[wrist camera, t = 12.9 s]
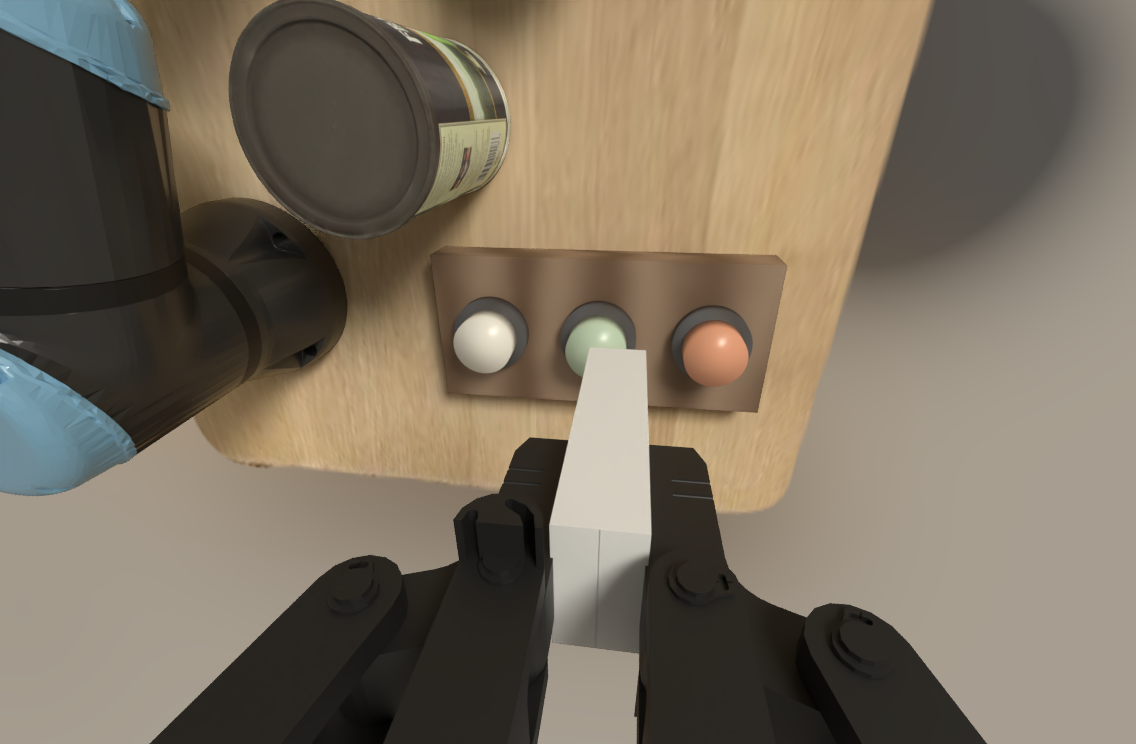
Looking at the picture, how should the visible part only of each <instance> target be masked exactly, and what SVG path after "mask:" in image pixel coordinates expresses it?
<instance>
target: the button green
mask: <svg viewBox="0 0 1136 744" xmlns="http://www.w3.org/2000/svg"><path fill="white" fill-rule="evenodd" d="M590 347H591V348H611V349H626V347H627V340H626V335H625V333H624V331H623V329H622V327H621V326H620V325H619V324H618V323H617V322H616V321H614V320H613V319H611V318H608V317H605V316H600V315H594V316H589V317H586V318H583V319H582V320H580V321H579V322H577V323H576V325H575V326H574V327H573V329H572V330H571V333H570V336H569V338H568V341H567V344H566V350H565V354H566V359H567V362H568V364H569V366H570V367H571V369H572V370H573V371H574V372H575V373H576V374H578V375H579V376H581V377H583V375H584V371H585V366H586V362H587V357H588V353H589V349H590Z"/></svg>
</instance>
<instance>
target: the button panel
mask: <svg viewBox="0 0 1136 744" xmlns="http://www.w3.org/2000/svg"><path fill="white" fill-rule="evenodd" d="M430 257H431V265H432V272H433V280H434V288H435V296H436V303H437V311H438V319H439V326H440V334H441V342H442V349H443V357H444V365H445V372H446V380H447V388H448V393H459V394H475V395H490V396H506V397H521V398H537V399H552V400H568V401H578V397H579V393H580V388H581V384H582V379H583V377H581V376H579V375H578V374H576V373H575V372H574V371H573V370H572V369H571V367H570V366H569V364H568V362H567V359H566V354H565V350H566V344H567V341H568V338H569V336H570V333H571V330H572V329H573V327H574V326H575V325H576V323H577V322H579V321H580V320H582V319H583V318H586V317H589V316H594V315H600V316H605V317H608V318H611V319H613V320H614V321H616V322H617V323H618V324H619V325H620V326H621V327H622V329H623V331H624V333H625V335H626V340H627V347H626V349H630V350H646V364H647V398H648V406H661V407H676V408H692V409H707V410H723V411H738V412H754V413H757V412H758V408H759V403H760V398H761V393H762V388H763V383H764V378H765V373H766V368H767V363H768V358H769V353H770V349H771V344H772V339H773V334H774V329H775V324H776V319H777V314H778V309H779V304H780V299H781V294H782V290H783V285H784V280H785V275H786V270H787V265H786V264H785V263H784V262H783V261H782V260H781V259H780V258H779V257H778V256H777V255H741V254H704V253H668V252H631V251H594V250H558V249H521V248H484V247H448V246H444V247H443V248H441V249H439V250H438V251H436V252H434V253H433V254H431V255H430ZM482 310H491V311H495V312H498V313H500V314H502V315H503V316H505V317H506V318H507V319H508V320H509V321H510V322H511V324H512V325H513V327H514V329H515V331H516V336H517V343H516V347H515V350H514V352H513V353H512V355H511V357H510V359H509V360H508V362H507V364H506V365H505V366H504V367H503V368H502V369H500V370H498V371H496V372H493V373H479V372H476V371H473V370H471V369H469V368H468V367H466V366H465V365H464V364H463V363H462V362H461V361H460V360H459V358H458V357H457V355H456V353H455V350H454V344H453V341H454V335H455V333H456V331H457V329H458V328H459V327H460V326H461V325H462V324H463V322H464V321H465V320H466V319H467V318H468V317H469V316H470V315H471V314H473V313H475V312H477V311H482ZM709 320H721V321H725V322H727V323H729V324H731V325H733V326H734V327H735V328H736V329H737V330H738V331H739V333H740V335H741V336H742V338H743V341H744V343H745V345H746V347H747V349H748V356H749V358H748V363H747V366H746V369H745V370H744V372H743V373H742V374H741V376H740V377H739V378H737V379H736V380H735V381H733V382H731V383H729V384H727V385H723V386H718V387H710V386H705V385H702V384H699V383H697V382H696V381H694V380H693V379H692V378H691V377H690V376H689V375H688V373H687V371H686V369H685V366H684V361H683V356H682V343H683V340H684V338H685V336H686V334H687V333H688V332H689V331H690V330H691V329H692V328H693V327H694V326H696V325H697V324H699V323H702V322H704V321H709Z"/></svg>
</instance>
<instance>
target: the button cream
mask: <svg viewBox="0 0 1136 744" xmlns="http://www.w3.org/2000/svg"><path fill="white" fill-rule="evenodd" d="M516 343H517V336H516V331H515V329H514V327H513V325H512V324H511V322H510V321H509V320H508V319H507V318H506V317H505V316H503V315H502V314H500V313H498V312H495V311H491V310H482V311H477V312H475V313H473V314H471V315H470V316H469V317H468V318H467V319H466V320H465V321H464V322H463V324H462V325H461V326H460V327H459V328H458V329H457V331H456V333H455V335H454V341H453V344H454V350H455V353H456V355H457V357H458V358H459V360H460V361H461V362H462V363H463V364H464V365H465V366H466V367H468V368H469V369H471V370H473V371H476V372H479V373H493V372H496V371H498V370H500V369H502V368H503V367H504V366H505V365H506V364H507V362H508V360H509V359H510V357H511V355H512V353H513V352H514V350H515V347H516Z"/></svg>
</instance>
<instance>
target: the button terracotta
mask: <svg viewBox="0 0 1136 744" xmlns="http://www.w3.org/2000/svg"><path fill="white" fill-rule="evenodd" d="M682 356H683V361H684V366H685V369H686V371H687V373H688V375H689V376H690V377H691V378H692V379H693V380H694V381H696V382H697V383H699V384H702V385H705V386H710V387H718V386H723V385H727V384H729V383H731V382H733V381H735V380H736V379H737V378H739V377H740V376H741V374H742V373H743V372H744V370H745V369H746V366H747V363H748V358H749V356H748V349H747V347H746V345H745V343H744V341H743V338H742V336H741V335H740V333H739V331H738V330H737V329H736V328H735V327H734V326H733V325H731V324H729V323H727V322H725V321H721V320H709V321H704V322H702V323H699V324H697V325H696V326H694V327H693V328H692V329H691V330H690V331H689V332H688V333H687V334H686V336H685V338H684V340H683V343H682Z"/></svg>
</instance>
